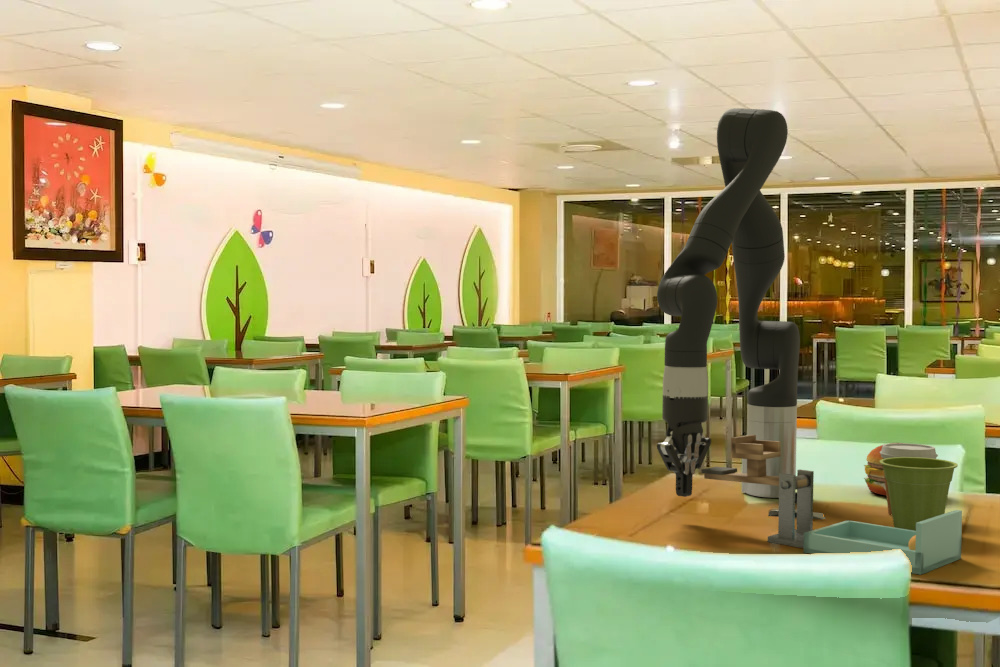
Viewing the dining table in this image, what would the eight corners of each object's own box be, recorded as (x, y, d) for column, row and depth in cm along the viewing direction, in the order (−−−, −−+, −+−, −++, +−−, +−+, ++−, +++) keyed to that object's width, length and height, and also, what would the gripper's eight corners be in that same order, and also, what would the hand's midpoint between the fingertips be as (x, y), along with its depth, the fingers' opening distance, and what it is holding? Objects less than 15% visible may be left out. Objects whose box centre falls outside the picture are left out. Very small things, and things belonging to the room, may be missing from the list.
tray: (803, 553, 162) (804, 505, 161) (847, 539, 171) (848, 494, 171) (920, 574, 149) (921, 523, 149) (960, 558, 159) (962, 510, 159)
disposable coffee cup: (941, 521, 186) (942, 451, 186) (882, 518, 188) (883, 449, 187) (931, 510, 195) (932, 443, 195) (875, 508, 197) (876, 442, 197)
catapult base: (828, 540, 170) (830, 472, 170) (802, 548, 165) (804, 478, 164) (794, 534, 175) (795, 467, 174) (767, 541, 169) (768, 473, 169)
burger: (851, 494, 211) (852, 443, 211) (879, 486, 222) (880, 436, 221) (922, 503, 202) (923, 449, 202) (947, 494, 213) (948, 443, 212)
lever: (812, 487, 171) (811, 438, 171) (792, 492, 167) (791, 441, 167) (719, 478, 183) (718, 432, 183) (698, 482, 179) (697, 435, 179)
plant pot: (876, 521, 185) (878, 455, 185) (952, 526, 182) (953, 458, 182) (879, 535, 174) (881, 465, 174) (960, 541, 171) (961, 469, 170)
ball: (917, 563, 155) (900, 547, 157) (927, 560, 157) (909, 544, 159) (931, 547, 153) (913, 531, 155) (940, 544, 156) (922, 528, 158)
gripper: (689, 389, 192) (688, 488, 192) (643, 394, 182) (642, 497, 183) (726, 392, 186) (724, 494, 187) (680, 397, 177) (679, 503, 177)
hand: (683, 495), depth 185 cm, fingers closed
